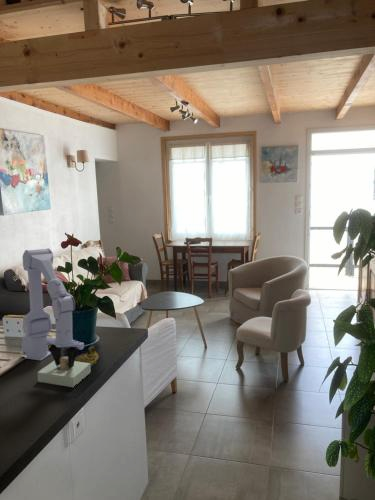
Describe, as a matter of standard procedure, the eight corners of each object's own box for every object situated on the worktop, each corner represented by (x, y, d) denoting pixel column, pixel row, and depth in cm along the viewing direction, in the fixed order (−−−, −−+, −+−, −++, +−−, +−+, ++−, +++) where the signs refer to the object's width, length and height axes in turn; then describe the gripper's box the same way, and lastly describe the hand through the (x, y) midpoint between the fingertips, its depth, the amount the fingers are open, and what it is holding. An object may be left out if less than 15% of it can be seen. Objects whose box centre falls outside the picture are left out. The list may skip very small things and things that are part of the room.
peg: (63, 374, 146) (62, 356, 145) (71, 375, 145) (70, 356, 144) (58, 378, 143) (58, 359, 142) (67, 379, 142) (66, 360, 141)
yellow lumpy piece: (88, 373, 150) (104, 357, 164) (89, 362, 149) (105, 346, 163) (65, 368, 151) (82, 352, 166) (66, 357, 150) (83, 342, 165)
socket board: (37, 381, 140) (37, 372, 139) (57, 367, 151) (57, 358, 151) (73, 387, 136) (73, 377, 136) (90, 372, 148) (90, 363, 147)
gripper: (39, 331, 139) (40, 367, 141) (76, 335, 136) (77, 373, 138) (50, 324, 146) (51, 359, 148) (86, 328, 142) (87, 364, 144)
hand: (64, 365), depth 143 cm, fingers open, 5 cm apart
